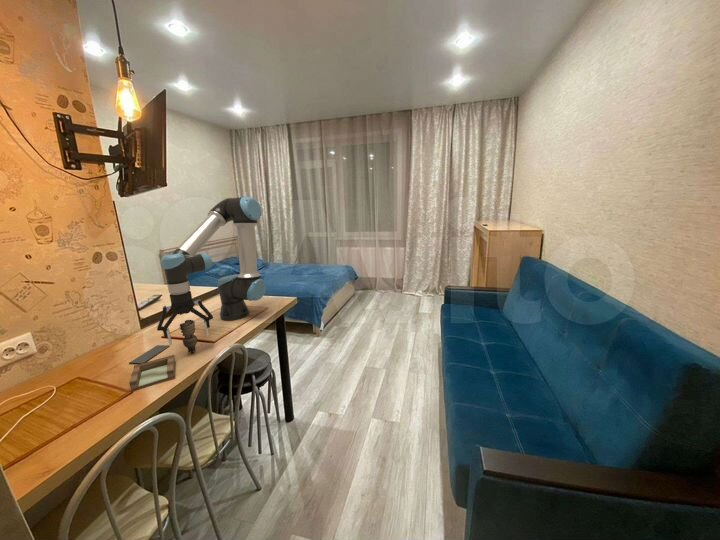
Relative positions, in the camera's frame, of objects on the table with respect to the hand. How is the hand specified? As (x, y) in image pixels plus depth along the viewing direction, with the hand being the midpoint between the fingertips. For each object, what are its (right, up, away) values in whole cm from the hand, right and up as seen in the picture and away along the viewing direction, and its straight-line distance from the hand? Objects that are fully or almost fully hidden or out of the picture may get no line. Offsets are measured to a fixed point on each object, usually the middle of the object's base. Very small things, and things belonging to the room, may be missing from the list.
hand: (189, 339), depth 123 cm
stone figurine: (0, -6, +2) cm, 7 cm away
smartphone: (-18, -8, +3) cm, 20 cm away
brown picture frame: (-5, -10, -14) cm, 18 cm away
